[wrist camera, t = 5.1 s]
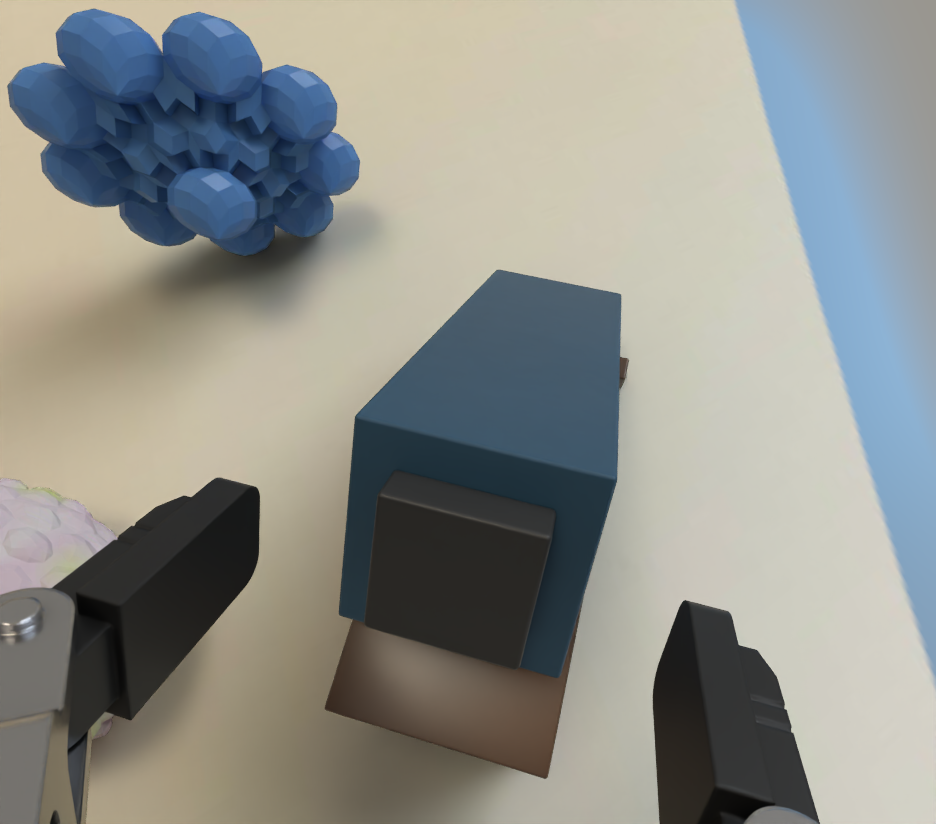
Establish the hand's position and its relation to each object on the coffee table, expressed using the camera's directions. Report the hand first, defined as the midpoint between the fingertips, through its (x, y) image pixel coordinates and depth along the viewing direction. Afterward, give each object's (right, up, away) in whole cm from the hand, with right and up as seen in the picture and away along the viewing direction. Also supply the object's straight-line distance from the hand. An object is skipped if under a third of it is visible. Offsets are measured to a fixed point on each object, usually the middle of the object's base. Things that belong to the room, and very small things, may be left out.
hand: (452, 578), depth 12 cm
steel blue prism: (+2, +3, +7) cm, 8 cm away
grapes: (-10, +10, +19) cm, 24 cm away
